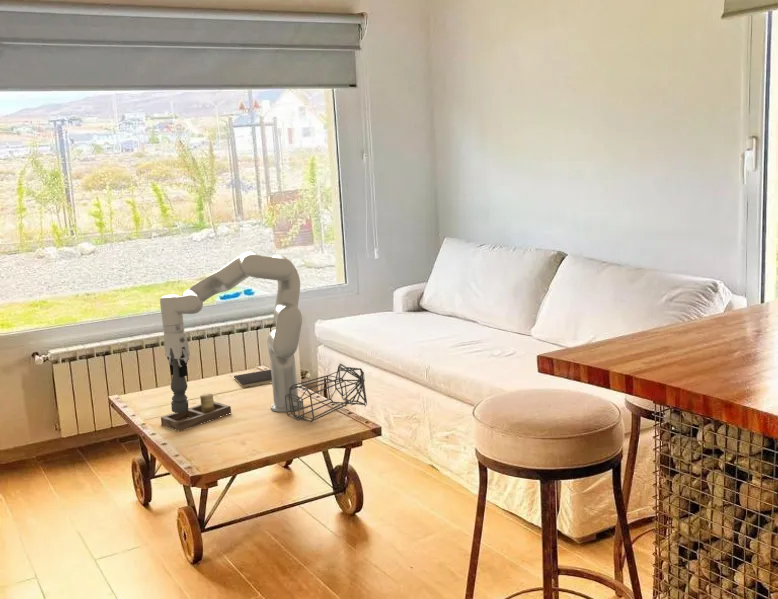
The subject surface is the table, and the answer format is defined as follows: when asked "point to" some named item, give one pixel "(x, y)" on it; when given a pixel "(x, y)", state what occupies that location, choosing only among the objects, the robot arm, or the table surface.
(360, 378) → the geometric lantern
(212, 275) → the robot arm
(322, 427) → the table surface
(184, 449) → the table surface
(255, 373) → the hardcover book
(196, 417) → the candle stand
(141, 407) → the table surface
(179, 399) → the candle holder
